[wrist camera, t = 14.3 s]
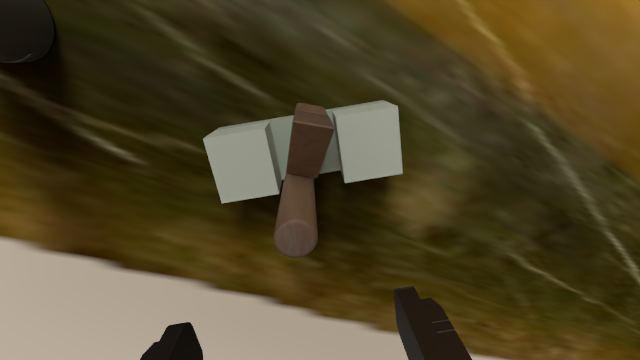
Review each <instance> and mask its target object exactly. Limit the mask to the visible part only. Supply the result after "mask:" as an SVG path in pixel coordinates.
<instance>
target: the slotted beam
mask: <svg viewBox="0 0 640 360" xmlns="http://www.w3.org/2000/svg"><path fill="white" fill-rule="evenodd" d="M325 111H326V113H327V115H328V116H329V117H330V119H331V121H332V123H333V125H334V127H335V130H334V133H333V136H332V139H331V141H330V144H329V147H328V150H327V153H326V156H325V159H324V161H323V164H322V167H321V170H320V173H319V174H321V173H327V172H333V171H339V170H340V171H341V174H342V176H343V179H344V182H345V183H349V182H355V181H361V180H367V179H373V178H379V177H385V176H392V175H398V174H403V172H402V158H401V144H400V130H399V115H398V106H396V105H393V104H391V103H388V102H386V101H384V100H382V101H376V102H370V103H364V104H358V105H352V106H346V107H340V108H334V109H328V110H325ZM293 117H294V115H292V116H286V117H280V118H274V119H268V120H262V121H256V122H250V123H244V124H238V125H232V126H226V127H220V128H218V129H217V130H215V131H214V132H212V133H211V134H209V135H208V136H206V137H205V138H203V141H204V144H205V148H206V151H207V154H208V158H209V161H210V165H211V168H212V171H213V175H214V178H215V182H216V185H217V188H218V192H219V195H220V199H221V202H222V203H227V202H234V201H240V200H246V199H252V198H258V197H264V196H270V195H276V194H279V192H280V187H281V183H282V180H284V178H285V175H286V167H287V159H288V152H289V144H290V136H291V128H292V121H293Z"/></svg>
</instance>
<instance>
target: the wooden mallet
mask: <svg viewBox="0 0 640 360" xmlns="http://www.w3.org/2000/svg"><path fill="white" fill-rule="evenodd" d="M334 130H335V127H334V125H333V123H332V121H331V119H330V117H329V116H328V115H327V113H326V111H325V109H324V108H323V107H320V106H315V105H309V104H303V103H297V105H296V108H295V113H294V117H293V121H292V128H291V136H290V144H289V152H288V159H287V167H286V175H285V178H284V183H283V188H282V194H281V199H280V204H279V209H278V215H277V220H276V225H275V230H274V243H275V245H276V247H277V249H278V250H279V251H280V252H281V253H283V254H284V255H286V256H289V257H302V256H306V255H307V254H309V253H310V252H311V251H312V250H313V249H314V248H315V247H316V244H317V241H318V230H317V217H316V204H315V191H314V178H318V176H319V173H320V170H321V167H322V164H323V161H324V159H325V156H326V153H327V150H328V147H329V144H330V141H331V139H332V136H333V133H334Z"/></svg>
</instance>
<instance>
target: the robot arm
mask: <svg viewBox="0 0 640 360" xmlns="http://www.w3.org/2000/svg"><path fill="white" fill-rule="evenodd" d="M53 39H54V24H53V20H52V16H51V14H50V12H49V9H48V7H47V6H46V4H45V3H44V1H43V0H0V62H5V63H17V62H19V63H24V62H33V61H36V60H39V59H40V58H42V57H43V56H45V55H46V53H47V52H48V51H49V50H50V48H51V46H52V44H53ZM394 299H395V310H396V320H397V326H398V330H399V334H400V337H401V340H402V343H403V345H404V348H405V351H406V353H407V356H408V359H409V360H472V359H471V357H470V355H469V353H468V352H467V350H466V348H465V346H464V345H463V343H462V341H461V340H460V338H459V336H458V334H457V333H456V331H455V330H454V327H453V326H452V324H451V322H450V321H449V319H448V317H447V315H446V314H445V312H444V310H443V308H442V307H441V306H440V305H439V304H437V303H436V302H435V301H434V300H433V299H431V298H426V299H420V298H419V296H418V294H417V292H416V290H415V288H414V287H413V286H410V287H404V288H398V289H394ZM140 360H203V353H202V349H201V347H200V344H199V341H198V339H197V336H196V334H195V331H194V329H193V326H192V324H191V323H189V322H186V323H180V324H175V325H169V326H168V327H167V328H166V330H165V332H164V334H163V335H162V337H161V339H160V341H159V342H154V343H153V345H152V346H151V347H150V348H149V349H148V350H147V351H146V352H145V353H144V354H143V355H142V357H141V359H140Z"/></svg>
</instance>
